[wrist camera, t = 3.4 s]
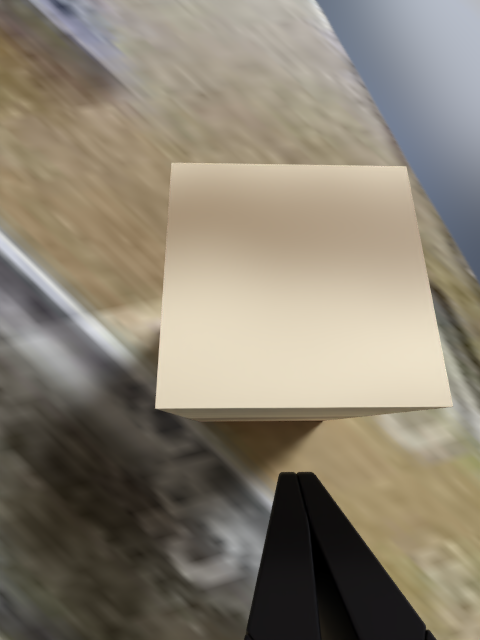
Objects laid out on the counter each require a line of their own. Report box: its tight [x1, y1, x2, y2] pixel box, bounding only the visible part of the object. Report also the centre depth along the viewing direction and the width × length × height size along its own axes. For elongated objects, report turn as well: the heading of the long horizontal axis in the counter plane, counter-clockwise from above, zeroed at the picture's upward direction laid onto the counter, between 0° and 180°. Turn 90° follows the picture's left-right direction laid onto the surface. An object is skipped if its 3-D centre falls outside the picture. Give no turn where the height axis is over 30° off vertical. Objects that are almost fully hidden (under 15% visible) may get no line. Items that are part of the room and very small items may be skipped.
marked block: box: [155, 163, 453, 422], centre depth 13 cm, size 6×6×10 cm
